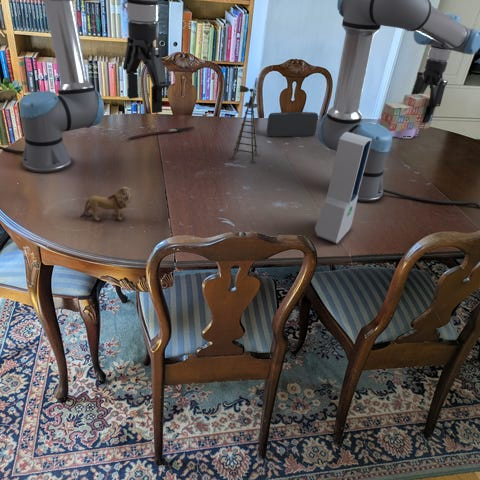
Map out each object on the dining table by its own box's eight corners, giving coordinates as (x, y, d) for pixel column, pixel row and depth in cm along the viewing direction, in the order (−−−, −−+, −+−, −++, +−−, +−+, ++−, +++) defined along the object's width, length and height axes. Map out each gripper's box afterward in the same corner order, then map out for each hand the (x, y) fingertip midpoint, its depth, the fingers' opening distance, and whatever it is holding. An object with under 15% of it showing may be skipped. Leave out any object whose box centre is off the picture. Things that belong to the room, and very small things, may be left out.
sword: (190, 126, 202) (190, 124, 201) (194, 129, 200) (194, 126, 199) (124, 139, 186) (124, 136, 186) (127, 141, 184) (127, 139, 184)
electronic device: (336, 245, 132) (360, 146, 116) (312, 236, 135) (332, 138, 119) (351, 228, 141) (376, 133, 125) (328, 220, 144) (350, 126, 128)
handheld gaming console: (312, 133, 210) (316, 111, 205) (315, 135, 208) (319, 113, 203) (265, 134, 203) (268, 112, 198) (267, 137, 201) (270, 114, 196)
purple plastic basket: (384, 139, 212) (388, 124, 209) (370, 129, 222) (373, 115, 218) (420, 137, 219) (425, 123, 215) (404, 128, 228) (409, 114, 225)
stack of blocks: (388, 131, 180) (397, 100, 174) (378, 126, 185) (386, 95, 178) (429, 128, 189) (439, 97, 182) (418, 123, 194) (427, 93, 187)
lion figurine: (131, 210, 139) (130, 182, 134) (134, 219, 134) (133, 191, 130) (79, 214, 134) (76, 186, 129) (80, 224, 129) (77, 195, 125)
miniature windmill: (253, 162, 176) (262, 82, 160) (231, 159, 177) (238, 78, 161) (257, 154, 184) (266, 76, 168) (236, 150, 185) (243, 72, 169)
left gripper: (182, 30, 112) (180, 116, 124) (133, 13, 128) (136, 91, 140) (154, 31, 108) (155, 120, 120) (108, 13, 124) (112, 93, 135)
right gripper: (464, 65, 170) (443, 127, 183) (426, 53, 184) (410, 111, 197) (449, 66, 167) (429, 128, 180) (412, 53, 181) (396, 112, 194)
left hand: (144, 104), depth 130 cm, fingers open, 13 cm apart
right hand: (419, 119), depth 188 cm, fingers closed on stack of blocks, 6 cm apart
